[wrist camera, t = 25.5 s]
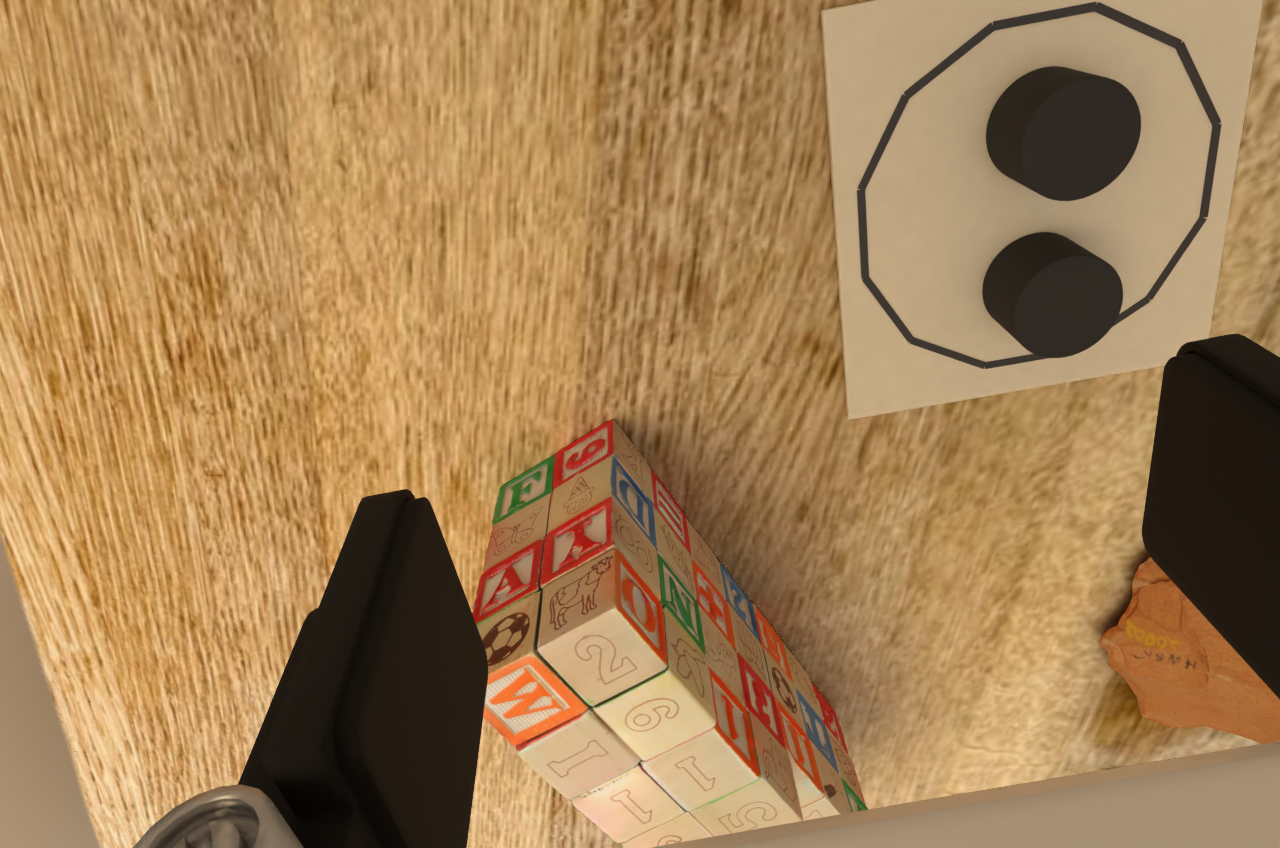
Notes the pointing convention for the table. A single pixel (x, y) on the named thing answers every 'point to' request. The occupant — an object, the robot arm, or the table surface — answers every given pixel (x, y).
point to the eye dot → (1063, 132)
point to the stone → (1186, 664)
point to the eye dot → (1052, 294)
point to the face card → (1006, 210)
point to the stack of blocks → (644, 661)
